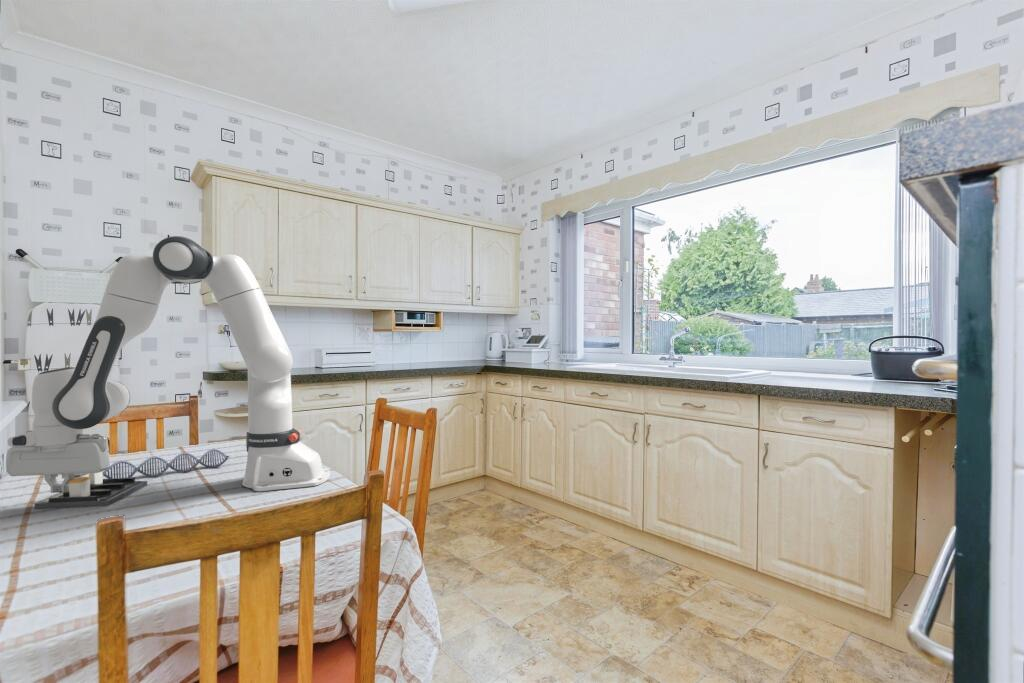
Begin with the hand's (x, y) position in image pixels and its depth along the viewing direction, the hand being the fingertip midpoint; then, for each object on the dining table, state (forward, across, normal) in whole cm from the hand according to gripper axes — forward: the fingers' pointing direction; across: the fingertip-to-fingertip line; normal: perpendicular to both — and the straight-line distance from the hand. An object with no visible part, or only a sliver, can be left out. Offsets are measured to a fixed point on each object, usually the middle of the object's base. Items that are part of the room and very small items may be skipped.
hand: (60, 491), depth 118 cm
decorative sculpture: (+3, -12, -23) cm, 26 cm away
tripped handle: (+2, -4, 0) cm, 5 cm away
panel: (+3, -4, -5) cm, 7 cm away
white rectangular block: (+1, -1, -5) cm, 5 cm away
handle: (+2, -1, -10) cm, 10 cm away
